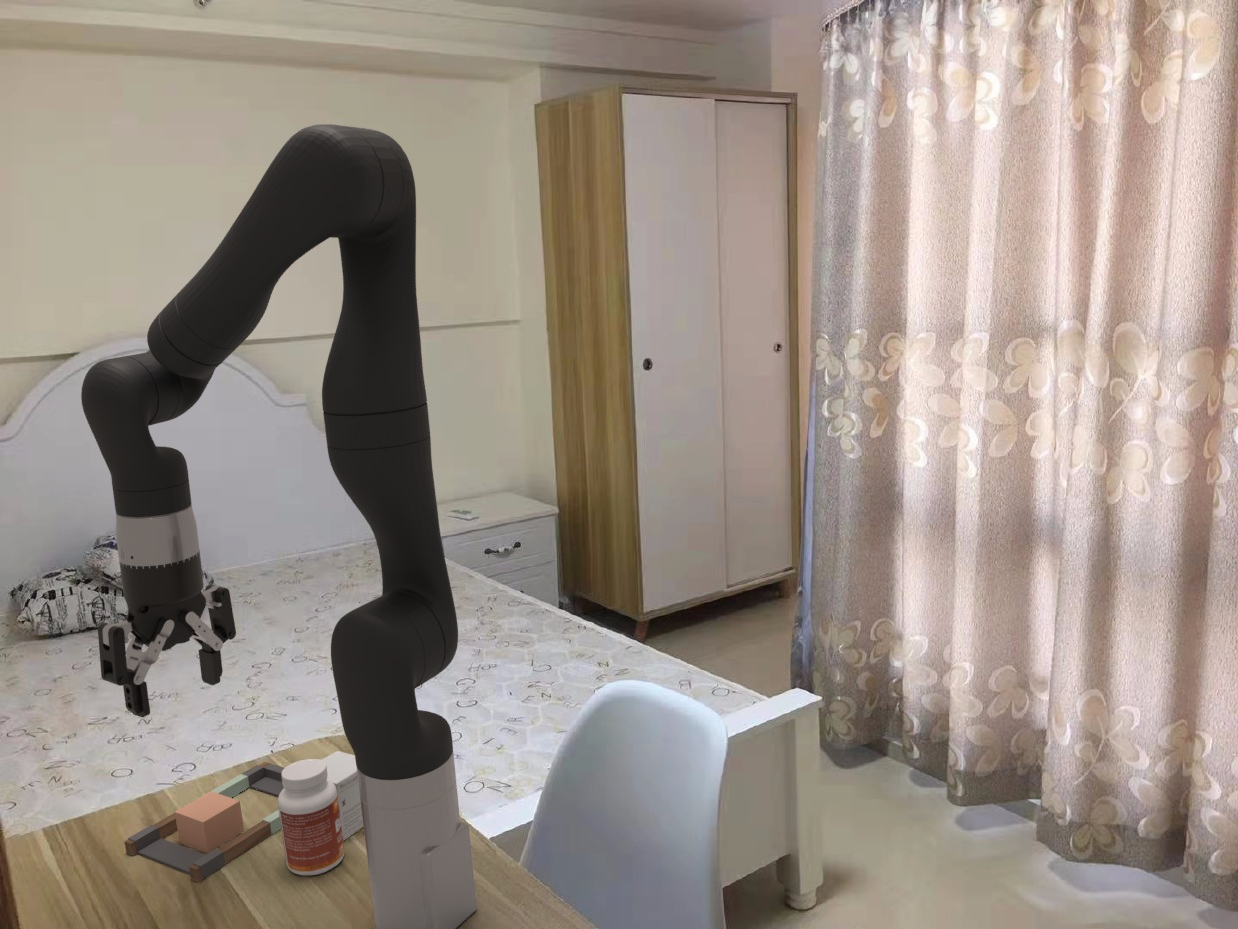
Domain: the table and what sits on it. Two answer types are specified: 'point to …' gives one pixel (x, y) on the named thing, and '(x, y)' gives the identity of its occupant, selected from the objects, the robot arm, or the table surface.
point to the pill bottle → (310, 818)
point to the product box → (346, 790)
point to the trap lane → (202, 865)
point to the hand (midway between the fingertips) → (177, 698)
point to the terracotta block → (209, 821)
